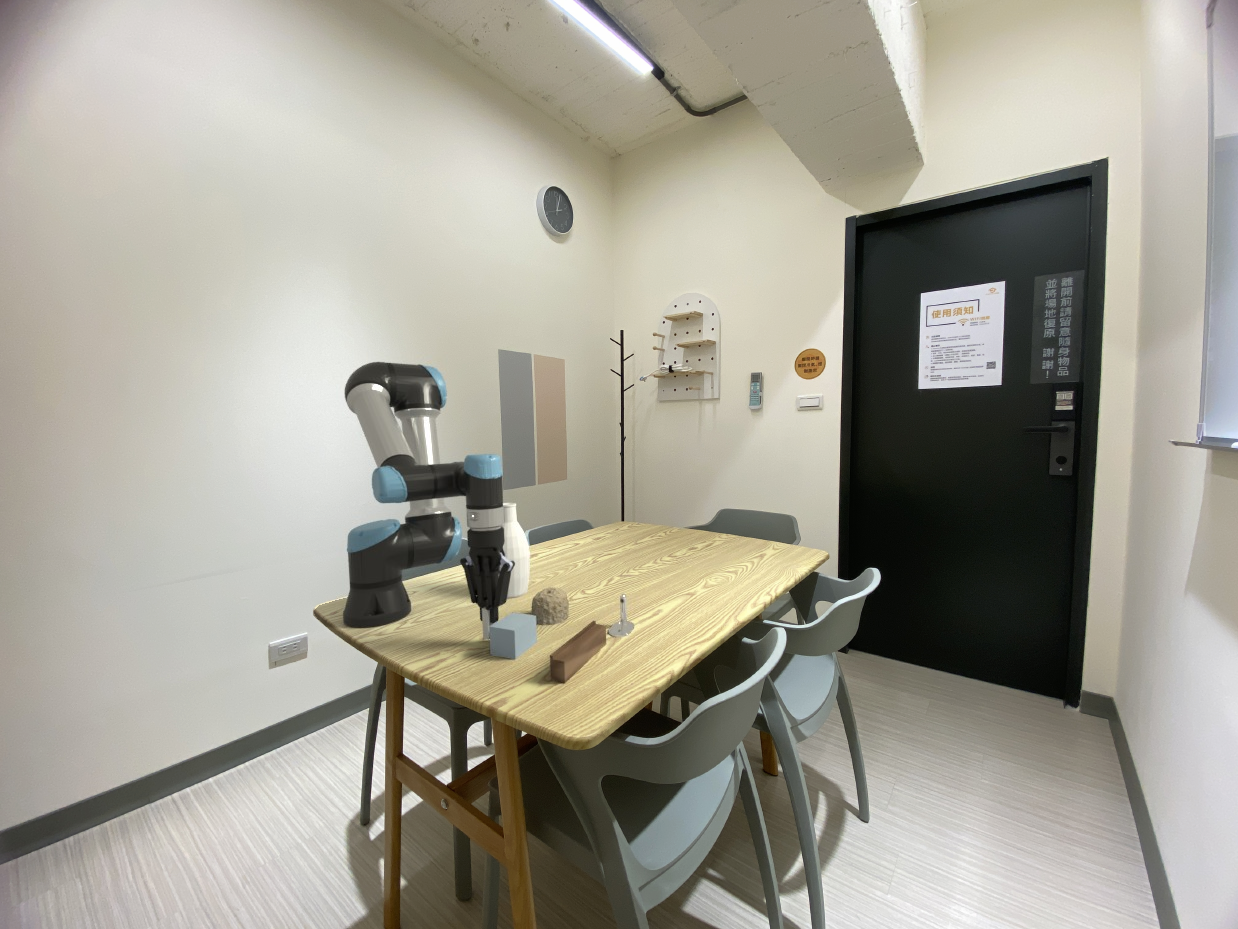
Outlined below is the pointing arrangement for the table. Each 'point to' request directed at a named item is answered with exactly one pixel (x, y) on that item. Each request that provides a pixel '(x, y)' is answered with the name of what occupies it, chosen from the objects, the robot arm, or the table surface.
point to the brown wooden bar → (577, 652)
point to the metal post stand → (622, 621)
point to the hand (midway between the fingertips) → (490, 636)
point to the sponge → (550, 606)
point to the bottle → (516, 552)
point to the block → (513, 635)
